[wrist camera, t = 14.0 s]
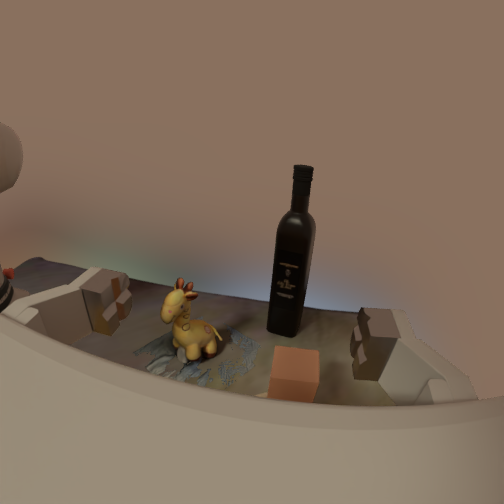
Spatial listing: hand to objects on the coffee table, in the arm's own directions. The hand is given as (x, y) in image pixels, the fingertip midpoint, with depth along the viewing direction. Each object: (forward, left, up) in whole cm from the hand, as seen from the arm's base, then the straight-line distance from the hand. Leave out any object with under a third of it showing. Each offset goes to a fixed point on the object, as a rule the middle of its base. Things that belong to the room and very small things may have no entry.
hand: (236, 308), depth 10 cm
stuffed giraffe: (-28, +4, -31) cm, 42 cm away
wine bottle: (-31, +21, -30) cm, 48 cm away
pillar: (-9, +9, -25) cm, 28 cm away
